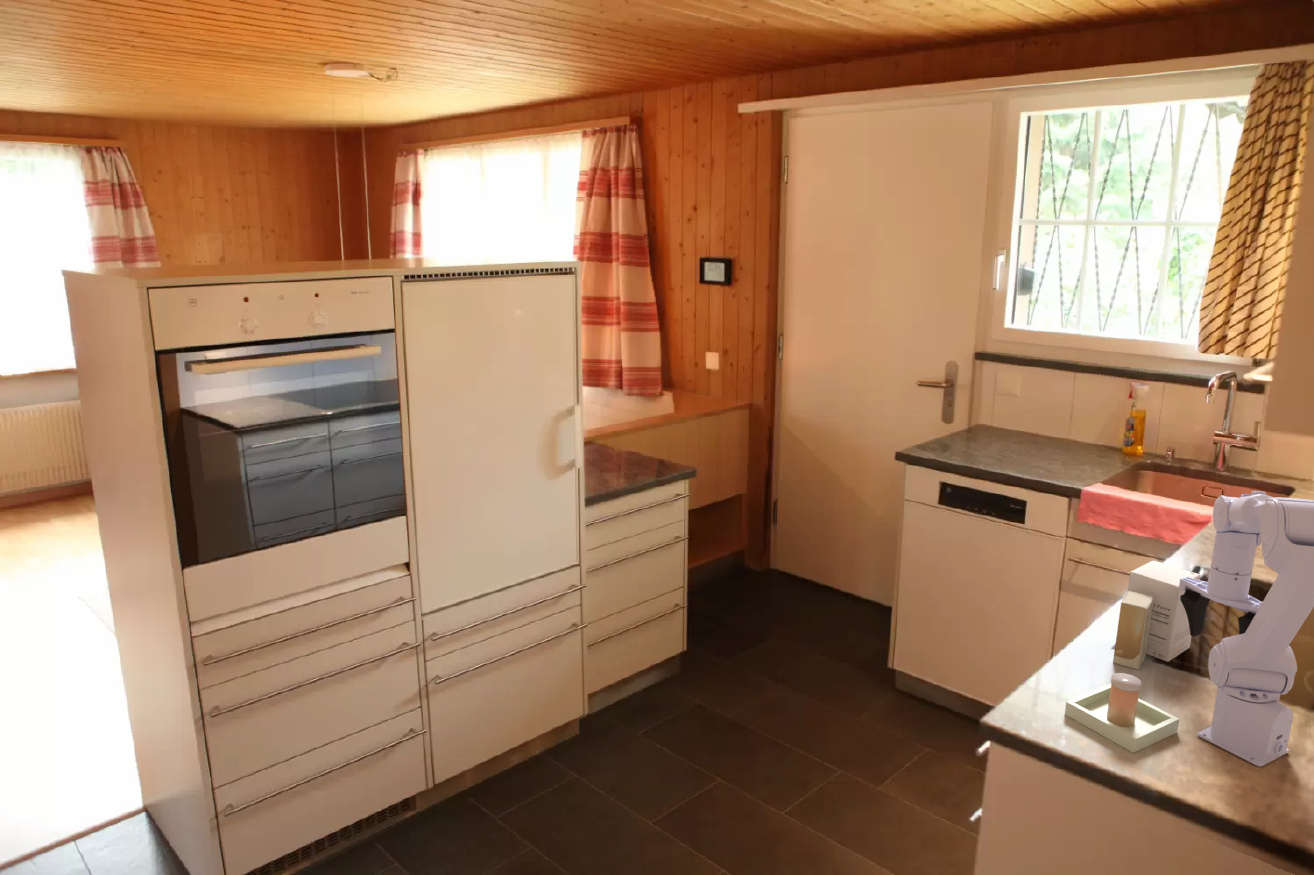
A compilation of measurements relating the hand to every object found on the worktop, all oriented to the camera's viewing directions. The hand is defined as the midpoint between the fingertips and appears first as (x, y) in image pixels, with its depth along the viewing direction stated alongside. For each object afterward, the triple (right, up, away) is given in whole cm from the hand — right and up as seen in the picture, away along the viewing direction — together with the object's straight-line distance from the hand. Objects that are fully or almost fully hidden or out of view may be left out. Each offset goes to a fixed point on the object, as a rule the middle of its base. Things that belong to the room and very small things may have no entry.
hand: (1218, 644), depth 148 cm
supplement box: (0, -5, +19) cm, 20 cm away
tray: (-19, -11, -6) cm, 23 cm away
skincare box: (-8, -6, +14) cm, 17 cm away
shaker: (-19, -11, -6) cm, 23 cm away
